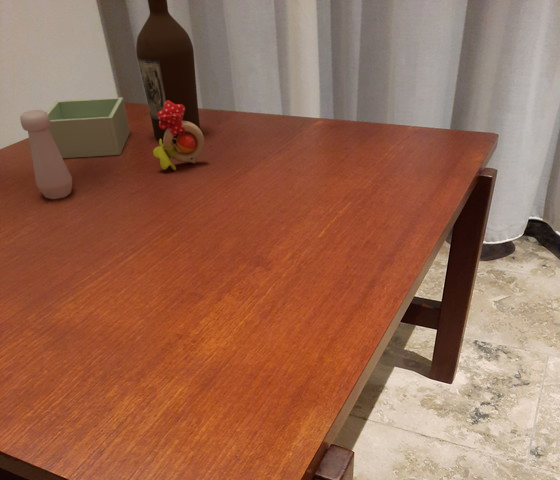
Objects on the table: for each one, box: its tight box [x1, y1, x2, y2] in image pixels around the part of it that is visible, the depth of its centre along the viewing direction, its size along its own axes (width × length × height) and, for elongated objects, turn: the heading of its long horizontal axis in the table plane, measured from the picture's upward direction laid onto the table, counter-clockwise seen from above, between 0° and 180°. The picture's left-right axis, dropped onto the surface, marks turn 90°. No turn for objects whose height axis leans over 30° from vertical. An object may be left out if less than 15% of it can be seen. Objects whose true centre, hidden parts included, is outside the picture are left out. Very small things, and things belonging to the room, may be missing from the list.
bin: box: [45, 96, 131, 159], centre depth 109 cm, size 14×14×7 cm
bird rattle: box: [152, 100, 205, 172], centre depth 98 cm, size 6×11×9 cm
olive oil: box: [135, 0, 201, 143], centre depth 106 cm, size 11×11×25 cm
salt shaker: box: [19, 109, 73, 200], centre depth 89 cm, size 6×6×13 cm
